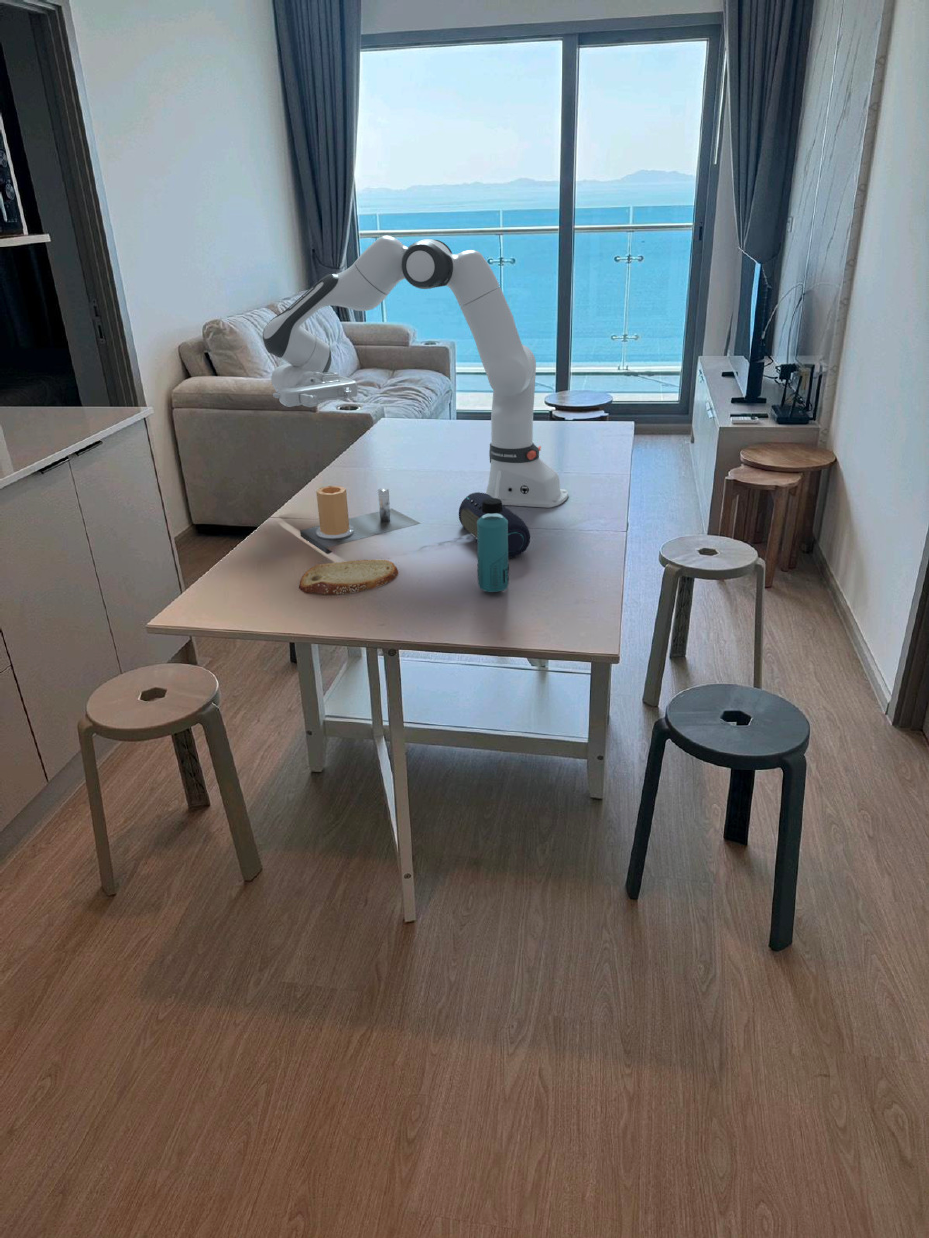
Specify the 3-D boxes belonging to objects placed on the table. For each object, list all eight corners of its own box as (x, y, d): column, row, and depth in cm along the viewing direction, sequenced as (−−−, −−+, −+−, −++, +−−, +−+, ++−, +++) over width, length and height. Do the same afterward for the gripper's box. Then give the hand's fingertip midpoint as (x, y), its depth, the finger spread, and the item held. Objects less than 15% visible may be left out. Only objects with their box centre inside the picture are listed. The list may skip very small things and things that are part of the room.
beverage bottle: (506, 599, 169) (506, 506, 160) (474, 597, 170) (472, 504, 161) (511, 586, 174) (511, 495, 165) (480, 584, 176) (479, 494, 166)
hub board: (392, 513, 216) (389, 474, 211) (420, 529, 206) (419, 487, 201) (300, 536, 203) (295, 494, 198) (326, 553, 192) (322, 510, 188)
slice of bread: (404, 571, 184) (404, 555, 182) (367, 604, 169) (365, 588, 167) (333, 561, 190) (332, 545, 188) (291, 592, 175) (289, 576, 173)
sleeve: (340, 523, 204) (337, 484, 199) (353, 530, 199) (349, 490, 194) (317, 529, 200) (312, 489, 196) (329, 537, 196) (325, 496, 191)
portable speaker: (453, 529, 205) (452, 490, 201) (490, 523, 208) (490, 485, 204) (494, 566, 184) (493, 524, 180) (534, 559, 187) (535, 517, 183)
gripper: (268, 381, 207) (291, 390, 197) (341, 371, 217) (367, 379, 207) (271, 407, 210) (294, 417, 199) (343, 395, 220) (369, 404, 210)
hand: (332, 397), depth 203 cm, fingers open, 8 cm apart
